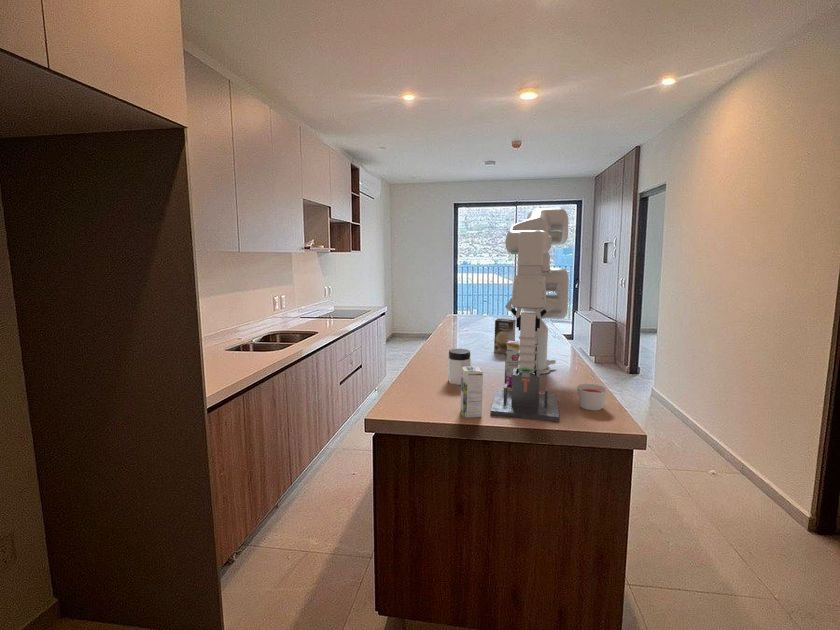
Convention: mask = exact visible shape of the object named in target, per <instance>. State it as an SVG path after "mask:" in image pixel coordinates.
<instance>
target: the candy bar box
mask: <svg viewBox="0 0 840 630" xmlns="http://www.w3.org/2000/svg"><path fill="white" fill-rule="evenodd" d="M519 342H520V340H515V341H507V343H506V354H505V363H504V385H505V384H507V387H512V374H513V370H514V368H518V366H519V363H518V360H519V356H520V355H519V349H520V347H519ZM534 350H535V356H534V358H535V364H534V365H535V369H537V353H538V343H536V347H535V348H534Z"/></svg>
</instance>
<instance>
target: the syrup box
mask: <svg viewBox="0 0 840 630" xmlns="http://www.w3.org/2000/svg"><path fill="white" fill-rule="evenodd" d="M483 382H484V371H483V370H482V369H481V368H480V367H479V366H473V365H472V366H466V367H462V376H461V385H460V413H461V416H462V418H465V419H468V418H482V416H483V415H482V411H483V410H482V409H483Z"/></svg>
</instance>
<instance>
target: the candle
mask: <svg viewBox="0 0 840 630" xmlns="http://www.w3.org/2000/svg"><path fill="white" fill-rule="evenodd" d="M576 391H577V397H578V405H579V407H580V408H581V409H584V410H587V411H601V410H602V409H603V407H604V405H605V404H604V403H605V400H606V397H607V392H608V389H607V387H605V386H603V385H599V384H595V383H580V384H578V385H576Z"/></svg>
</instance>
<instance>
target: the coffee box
mask: <svg viewBox="0 0 840 630" xmlns="http://www.w3.org/2000/svg"><path fill="white" fill-rule="evenodd" d="M516 320H517V319H506V318H496V319H495V320H494V337H493V338H494V339H493V341H494V344H493V353H494V354H503V355H504V354H505V355H506V343H507V341H516Z"/></svg>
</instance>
